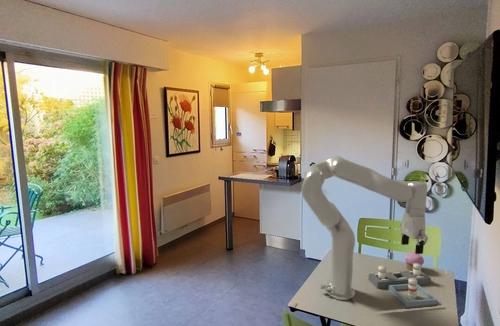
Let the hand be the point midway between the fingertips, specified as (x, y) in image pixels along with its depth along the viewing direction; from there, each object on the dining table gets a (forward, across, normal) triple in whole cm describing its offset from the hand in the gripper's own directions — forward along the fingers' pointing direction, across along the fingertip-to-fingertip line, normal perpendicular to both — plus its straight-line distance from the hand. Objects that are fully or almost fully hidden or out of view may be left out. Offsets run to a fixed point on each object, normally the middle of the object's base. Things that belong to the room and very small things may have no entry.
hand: (411, 248), depth 139 cm
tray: (+22, +1, +1) cm, 23 cm away
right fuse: (+21, -11, +12) cm, 27 cm away
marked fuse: (+22, +1, +1) cm, 22 cm away
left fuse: (+22, -11, -6) cm, 25 cm away
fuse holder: (+22, -11, +3) cm, 25 cm away
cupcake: (+23, -22, +18) cm, 36 cm away
